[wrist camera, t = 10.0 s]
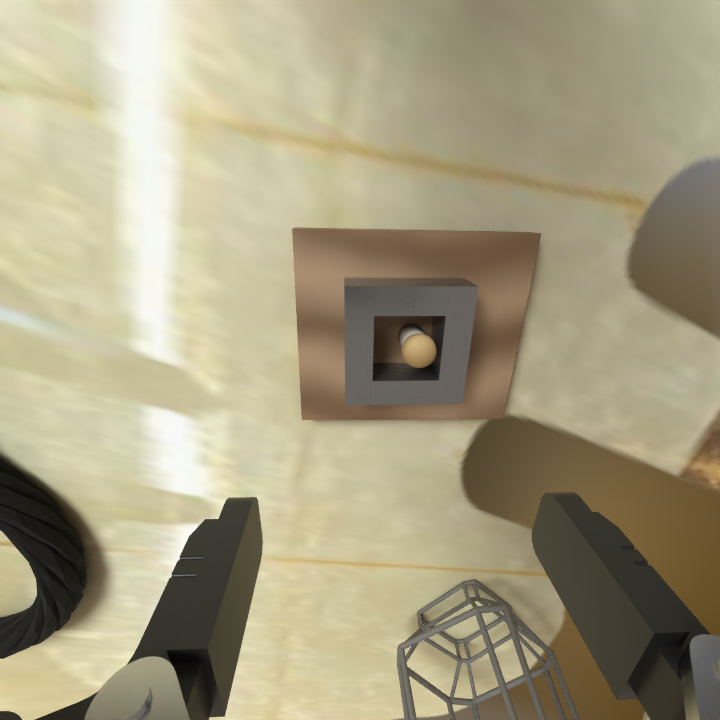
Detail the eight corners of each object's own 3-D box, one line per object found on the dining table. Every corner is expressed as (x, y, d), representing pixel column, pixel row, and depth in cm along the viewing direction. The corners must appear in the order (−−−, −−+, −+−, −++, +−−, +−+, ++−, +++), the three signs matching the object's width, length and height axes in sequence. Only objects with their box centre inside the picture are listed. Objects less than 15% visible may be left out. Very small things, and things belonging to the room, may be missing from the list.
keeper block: (295, 227, 24) (281, 232, 18) (530, 232, 24) (580, 238, 19) (303, 409, 29) (295, 453, 24) (495, 409, 30) (527, 450, 25)
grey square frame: (344, 277, 24) (344, 286, 21) (463, 277, 24) (478, 286, 21) (344, 385, 27) (345, 405, 24) (450, 384, 27) (462, 403, 24)
